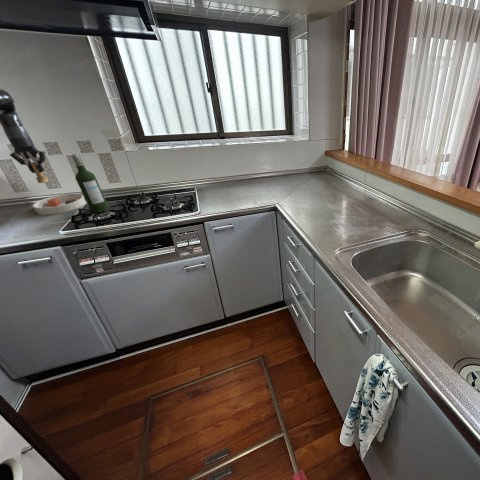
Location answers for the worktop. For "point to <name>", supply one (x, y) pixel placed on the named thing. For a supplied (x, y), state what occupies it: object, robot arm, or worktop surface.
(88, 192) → the wine bottle
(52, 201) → the terracotta block
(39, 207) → the bowl
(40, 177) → the muddler
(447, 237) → the worktop surface
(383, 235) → the worktop surface
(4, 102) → the robot arm
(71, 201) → the walnut block
